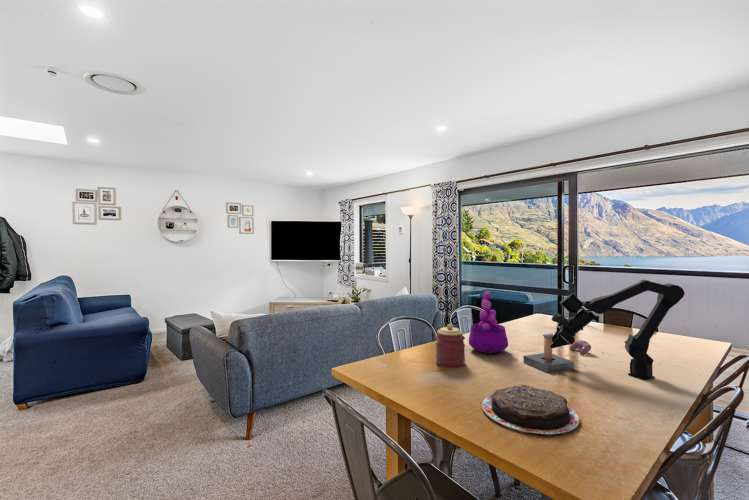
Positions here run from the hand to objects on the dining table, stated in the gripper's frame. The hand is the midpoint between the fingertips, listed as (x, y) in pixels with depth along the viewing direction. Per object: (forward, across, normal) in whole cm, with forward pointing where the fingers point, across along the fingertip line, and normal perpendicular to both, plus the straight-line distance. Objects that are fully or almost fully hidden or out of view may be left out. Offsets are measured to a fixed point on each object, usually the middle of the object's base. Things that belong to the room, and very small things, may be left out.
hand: (550, 344), depth 153 cm
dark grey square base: (+7, 0, +6) cm, 9 cm away
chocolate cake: (+12, +51, +2) cm, 52 cm away
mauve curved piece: (-3, -27, +17) cm, 32 cm away
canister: (+35, +13, -22) cm, 44 cm away
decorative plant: (+26, -12, -13) cm, 31 cm away
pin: (+7, 0, +6) cm, 9 cm away
